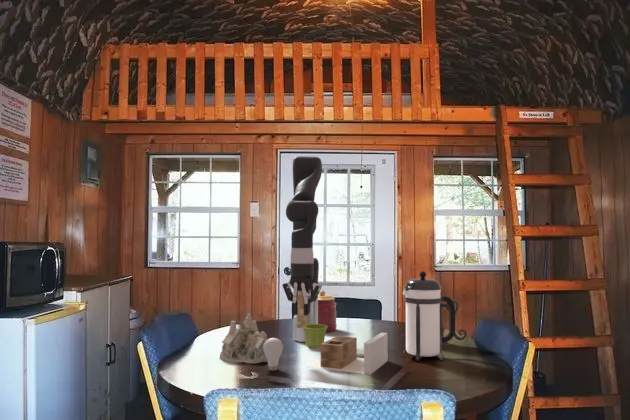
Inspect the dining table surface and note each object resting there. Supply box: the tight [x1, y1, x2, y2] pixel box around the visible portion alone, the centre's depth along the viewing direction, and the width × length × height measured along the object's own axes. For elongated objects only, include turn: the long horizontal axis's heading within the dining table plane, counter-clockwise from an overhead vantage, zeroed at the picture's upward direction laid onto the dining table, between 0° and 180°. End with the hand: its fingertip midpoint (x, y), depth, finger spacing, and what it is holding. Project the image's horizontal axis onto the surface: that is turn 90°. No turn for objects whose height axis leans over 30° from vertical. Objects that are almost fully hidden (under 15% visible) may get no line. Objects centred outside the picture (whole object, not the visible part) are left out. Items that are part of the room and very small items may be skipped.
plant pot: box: [304, 324, 328, 349], centre depth 192 cm, size 9×9×9 cm
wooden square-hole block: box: [320, 335, 358, 369], centre depth 167 cm, size 7×14×7 cm, turn 156°
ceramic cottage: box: [219, 313, 269, 364], centre depth 178 cm, size 16×16×15 cm
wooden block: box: [357, 352, 364, 358], centre depth 174 cm, size 10×3×3 cm
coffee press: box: [401, 270, 456, 363], centre depth 182 cm, size 17×16×30 cm
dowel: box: [297, 291, 306, 328], centre depth 169 cm, size 3×3×12 cm
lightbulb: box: [263, 337, 284, 371], centre depth 159 cm, size 6×6×11 cm
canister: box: [318, 289, 338, 333], centre depth 232 cm, size 13×13×18 cm
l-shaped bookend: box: [306, 332, 389, 375], centre depth 166 cm, size 21×18×10 cm
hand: (301, 314), depth 169 cm, fingers closed on dowel, 2 cm apart
